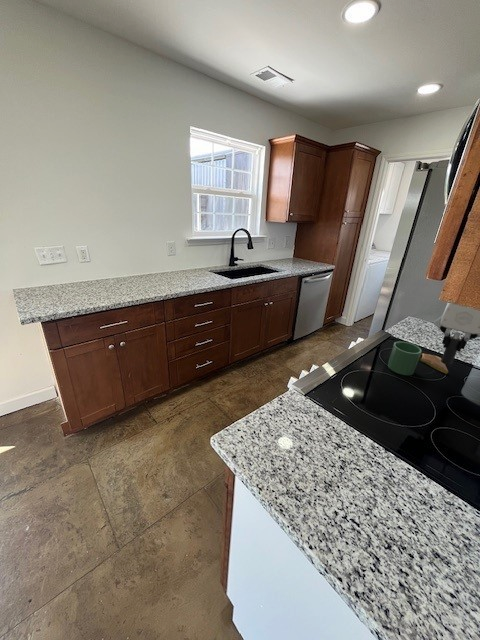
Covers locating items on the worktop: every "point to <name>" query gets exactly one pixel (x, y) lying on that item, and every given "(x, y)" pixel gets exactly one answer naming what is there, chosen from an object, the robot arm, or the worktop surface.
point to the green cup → (404, 358)
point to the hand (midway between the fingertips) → (451, 347)
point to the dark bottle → (451, 349)
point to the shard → (434, 362)
